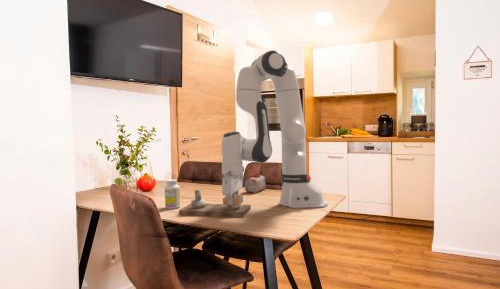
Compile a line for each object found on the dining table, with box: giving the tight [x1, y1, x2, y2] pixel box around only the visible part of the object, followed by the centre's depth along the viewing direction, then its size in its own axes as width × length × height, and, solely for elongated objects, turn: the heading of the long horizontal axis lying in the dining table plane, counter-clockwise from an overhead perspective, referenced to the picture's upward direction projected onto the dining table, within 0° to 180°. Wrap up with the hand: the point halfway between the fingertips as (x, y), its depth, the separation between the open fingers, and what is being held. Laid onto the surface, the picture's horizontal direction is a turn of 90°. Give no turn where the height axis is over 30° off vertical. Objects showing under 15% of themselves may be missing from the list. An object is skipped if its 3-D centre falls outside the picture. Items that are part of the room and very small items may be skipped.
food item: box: [244, 173, 267, 194], centre depth 203 cm, size 14×8×10 cm, turn 154°
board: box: [178, 189, 252, 218], centre depth 156 cm, size 28×14×10 cm, turn 77°
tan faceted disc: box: [222, 194, 244, 206], centre depth 154 cm, size 7×7×3 cm
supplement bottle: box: [164, 178, 181, 210], centre depth 167 cm, size 7×7×13 cm
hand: (233, 202), depth 154 cm, fingers closed on tan faceted disc, 7 cm apart
